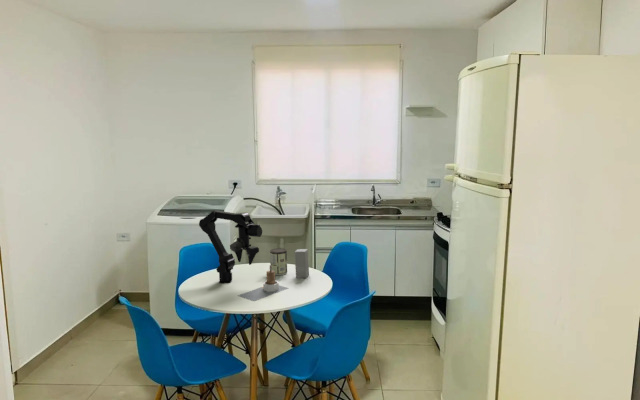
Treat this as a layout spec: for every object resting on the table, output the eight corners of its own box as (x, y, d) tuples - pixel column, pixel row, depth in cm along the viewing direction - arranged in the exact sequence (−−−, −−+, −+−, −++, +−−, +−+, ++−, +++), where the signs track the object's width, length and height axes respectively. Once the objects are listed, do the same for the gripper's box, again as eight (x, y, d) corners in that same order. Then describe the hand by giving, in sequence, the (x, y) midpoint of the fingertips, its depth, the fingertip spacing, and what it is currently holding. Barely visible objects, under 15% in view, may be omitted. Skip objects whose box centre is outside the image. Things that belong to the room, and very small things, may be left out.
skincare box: (306, 278, 255) (305, 252, 253) (294, 277, 256) (293, 251, 254) (309, 274, 263) (309, 248, 261) (298, 273, 265) (297, 248, 263)
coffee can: (277, 269, 274) (276, 247, 272) (290, 272, 269) (290, 249, 267) (266, 273, 265) (266, 250, 264) (280, 276, 260) (279, 253, 258)
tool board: (254, 303, 216) (253, 294, 216) (236, 297, 224) (236, 289, 224) (289, 289, 235) (289, 281, 235) (272, 285, 244) (271, 277, 243)
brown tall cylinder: (266, 290, 232) (266, 266, 230) (267, 287, 236) (266, 264, 234) (275, 290, 232) (274, 266, 230) (275, 287, 236) (274, 264, 234)
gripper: (221, 235, 243) (222, 263, 245) (243, 240, 230) (244, 269, 232) (237, 232, 251) (238, 259, 253) (259, 237, 239) (260, 264, 241)
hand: (244, 263), depth 245 cm, fingers open, 9 cm apart
